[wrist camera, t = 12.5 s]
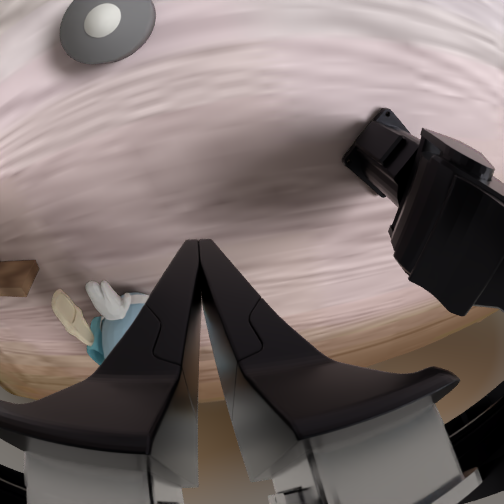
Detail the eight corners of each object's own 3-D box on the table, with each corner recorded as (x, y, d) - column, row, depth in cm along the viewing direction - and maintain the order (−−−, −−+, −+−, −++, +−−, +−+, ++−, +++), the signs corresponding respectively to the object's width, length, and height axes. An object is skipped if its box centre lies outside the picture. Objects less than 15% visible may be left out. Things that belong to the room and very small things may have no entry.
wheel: (173, 3, 12) (169, -5, 10) (126, 74, 15) (116, 77, 13) (103, -21, 10) (92, -29, 8) (60, 49, 12) (44, 50, 10)
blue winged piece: (206, 337, 34) (221, 452, 23) (131, 349, 34) (129, 457, 22) (161, 228, 24) (149, 399, 12) (64, 254, 23) (17, 398, 12)
